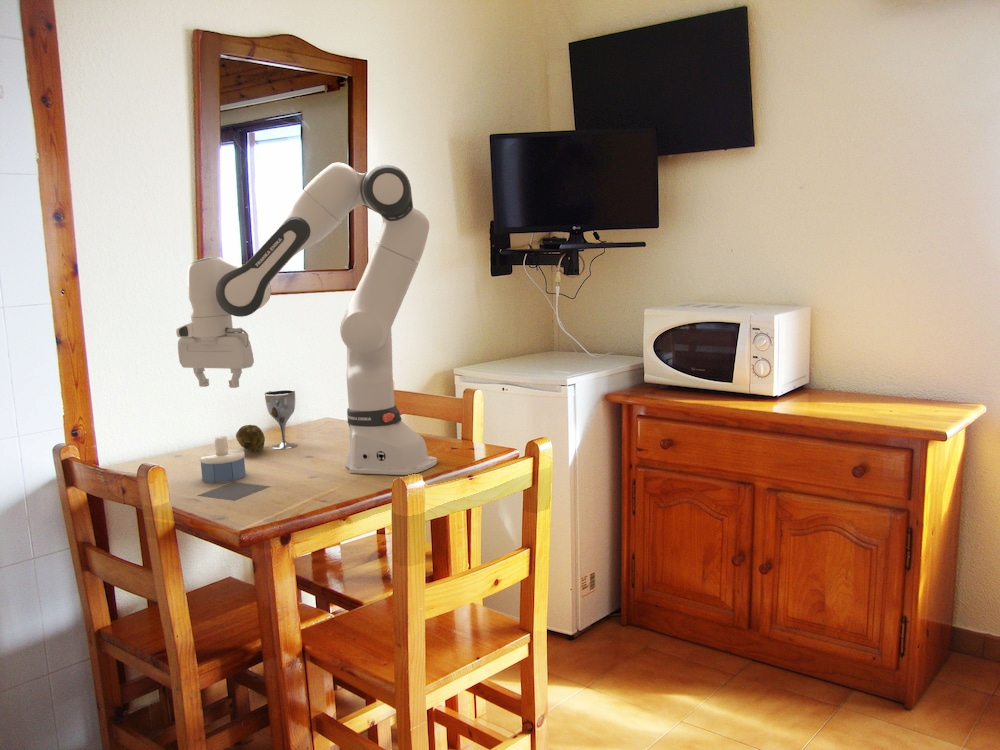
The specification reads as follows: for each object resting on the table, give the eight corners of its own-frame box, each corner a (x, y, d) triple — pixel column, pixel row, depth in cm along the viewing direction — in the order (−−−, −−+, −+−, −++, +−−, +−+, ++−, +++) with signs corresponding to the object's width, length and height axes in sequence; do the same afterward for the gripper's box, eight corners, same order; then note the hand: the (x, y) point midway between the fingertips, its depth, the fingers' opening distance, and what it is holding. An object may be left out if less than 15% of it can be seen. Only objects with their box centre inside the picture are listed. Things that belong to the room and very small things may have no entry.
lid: (253, 454, 198) (251, 434, 197) (222, 465, 189) (220, 444, 188) (222, 451, 202) (220, 431, 202) (190, 462, 193) (188, 441, 193)
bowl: (254, 475, 198) (252, 455, 198) (224, 486, 190) (222, 465, 189) (224, 472, 203) (222, 452, 202) (194, 482, 194) (191, 461, 194)
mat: (270, 488, 187) (270, 486, 187) (234, 502, 177) (234, 500, 177) (234, 483, 192) (233, 481, 192) (197, 497, 182) (197, 495, 182)
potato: (273, 445, 229) (271, 417, 228) (261, 457, 216) (259, 427, 215) (243, 447, 229) (240, 418, 228) (229, 458, 216) (226, 428, 215)
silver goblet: (263, 448, 226) (258, 394, 223) (281, 442, 233) (276, 389, 231) (287, 450, 223) (283, 395, 220) (305, 443, 230) (300, 389, 228)
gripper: (256, 326, 191) (262, 385, 193) (191, 326, 200) (198, 383, 202) (236, 329, 185) (243, 390, 187) (170, 329, 194) (177, 388, 196)
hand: (219, 387), depth 195 cm, fingers open, 8 cm apart
